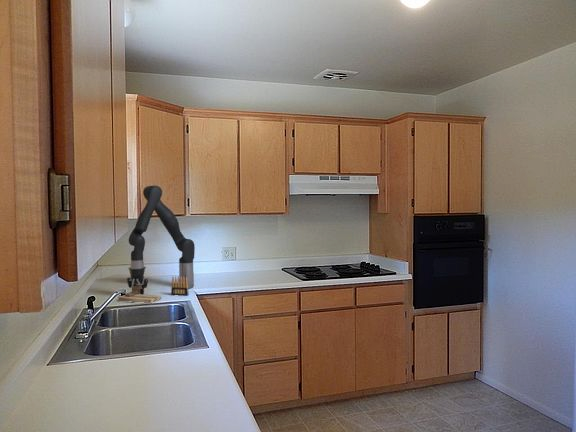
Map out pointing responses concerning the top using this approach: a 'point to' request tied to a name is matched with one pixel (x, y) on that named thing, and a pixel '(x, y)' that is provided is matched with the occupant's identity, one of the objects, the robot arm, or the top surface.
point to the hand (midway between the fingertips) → (137, 294)
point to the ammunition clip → (179, 287)
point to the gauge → (134, 290)
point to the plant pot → (130, 270)
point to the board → (140, 298)
